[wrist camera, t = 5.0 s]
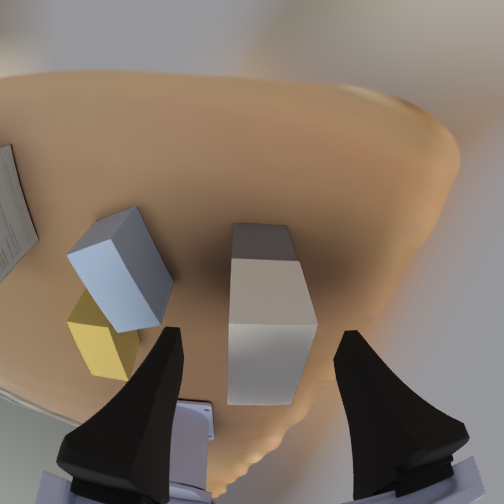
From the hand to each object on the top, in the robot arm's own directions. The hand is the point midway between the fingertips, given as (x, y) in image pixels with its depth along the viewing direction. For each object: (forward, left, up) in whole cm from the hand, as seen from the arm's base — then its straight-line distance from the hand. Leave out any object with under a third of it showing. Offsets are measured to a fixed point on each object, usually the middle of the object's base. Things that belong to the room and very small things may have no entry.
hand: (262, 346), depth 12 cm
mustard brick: (-5, +10, -6) cm, 13 cm away
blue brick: (0, +8, -6) cm, 10 cm away
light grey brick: (0, 0, -2) cm, 3 cm away
